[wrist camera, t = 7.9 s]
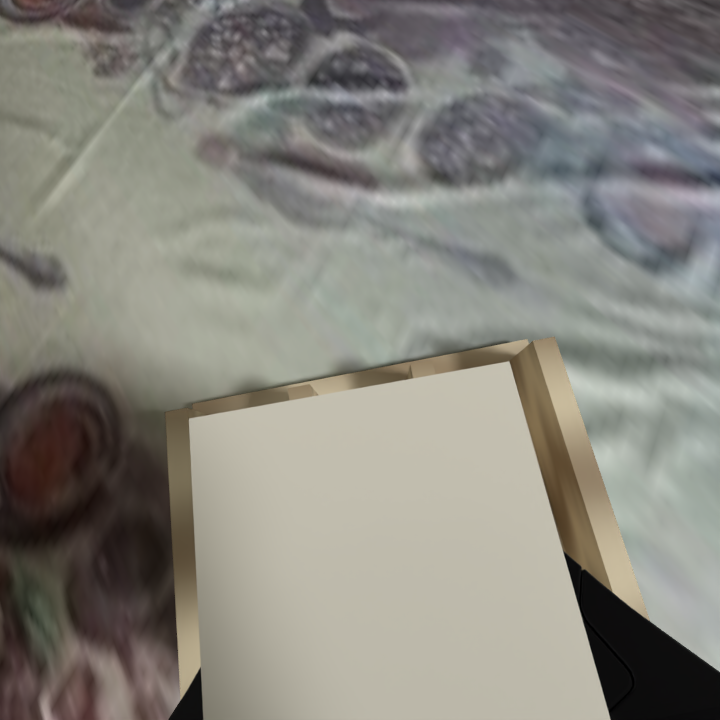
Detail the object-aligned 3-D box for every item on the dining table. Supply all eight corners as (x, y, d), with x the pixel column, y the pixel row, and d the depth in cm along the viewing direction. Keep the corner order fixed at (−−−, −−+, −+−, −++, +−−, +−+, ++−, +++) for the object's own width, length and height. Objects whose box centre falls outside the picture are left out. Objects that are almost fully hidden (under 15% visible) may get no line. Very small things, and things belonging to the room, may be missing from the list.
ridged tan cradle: (607, 623, 19) (674, 668, 15) (223, 698, 19) (176, 765, 15) (521, 344, 23) (554, 315, 18) (200, 406, 23) (157, 391, 18)
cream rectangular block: (443, 584, 15) (742, 1187, 2) (362, 598, 15) (230, 1262, 2) (415, 447, 16) (509, 361, 4) (342, 460, 16) (188, 418, 4)
